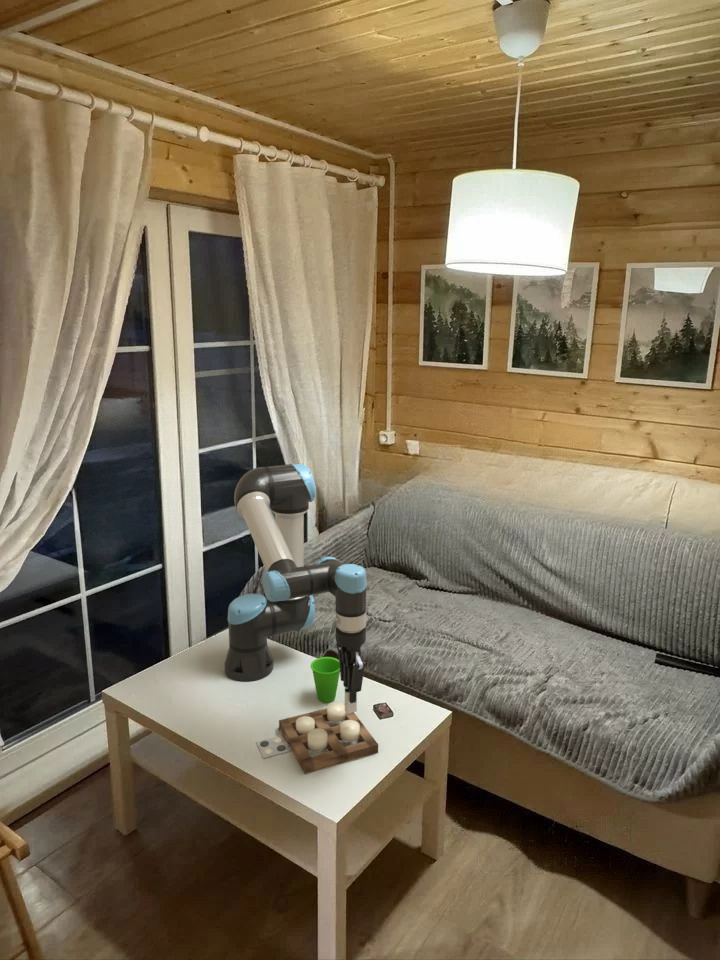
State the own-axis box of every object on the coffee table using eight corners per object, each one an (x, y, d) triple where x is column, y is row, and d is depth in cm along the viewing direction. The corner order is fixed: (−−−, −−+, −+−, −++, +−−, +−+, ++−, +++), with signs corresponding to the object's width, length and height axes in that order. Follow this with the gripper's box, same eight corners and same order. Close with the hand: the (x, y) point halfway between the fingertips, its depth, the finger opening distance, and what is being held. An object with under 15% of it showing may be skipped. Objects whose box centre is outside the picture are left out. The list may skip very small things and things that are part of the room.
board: (279, 728, 185) (279, 720, 184) (346, 710, 193) (346, 703, 192) (304, 774, 167) (304, 765, 166) (378, 752, 175) (378, 744, 175)
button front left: (337, 732, 178) (337, 722, 177) (354, 728, 180) (354, 718, 179) (344, 743, 174) (344, 733, 173) (362, 738, 176) (362, 728, 175)
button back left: (324, 714, 186) (324, 704, 185) (341, 709, 188) (341, 700, 187) (331, 724, 182) (331, 714, 181) (348, 719, 184) (348, 709, 183)
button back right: (293, 728, 183) (293, 719, 182) (310, 724, 185) (310, 714, 184) (299, 739, 179) (299, 729, 178) (317, 734, 181) (317, 724, 180)
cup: (337, 709, 193) (338, 674, 191) (307, 705, 195) (306, 671, 192) (345, 692, 202) (345, 658, 199) (315, 688, 204) (315, 655, 201)
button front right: (304, 741, 175) (304, 731, 174) (323, 736, 177) (323, 726, 176) (311, 753, 170) (311, 742, 169) (330, 747, 172) (330, 737, 171)
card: (255, 742, 179) (255, 741, 178) (281, 736, 181) (281, 734, 181) (263, 759, 172) (263, 757, 172) (290, 751, 175) (290, 750, 175)
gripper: (326, 618, 173) (327, 701, 179) (347, 641, 162) (347, 728, 167) (353, 613, 176) (353, 694, 182) (375, 635, 165) (374, 721, 171)
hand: (350, 710), depth 175 cm, fingers closed
